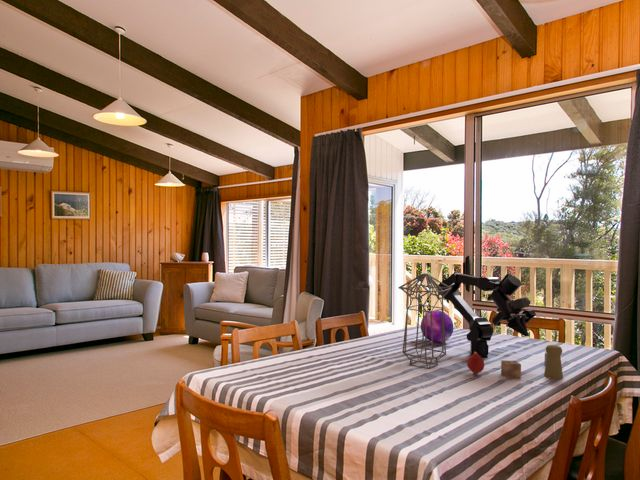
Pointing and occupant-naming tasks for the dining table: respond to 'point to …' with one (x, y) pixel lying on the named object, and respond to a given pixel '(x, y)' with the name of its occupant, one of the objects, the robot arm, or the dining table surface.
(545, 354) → the slate marked block
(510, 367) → the walnut marked block
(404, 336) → the geometric lantern
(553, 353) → the cork
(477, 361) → the onion
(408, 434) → the dining table surface
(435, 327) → the decorative orb
